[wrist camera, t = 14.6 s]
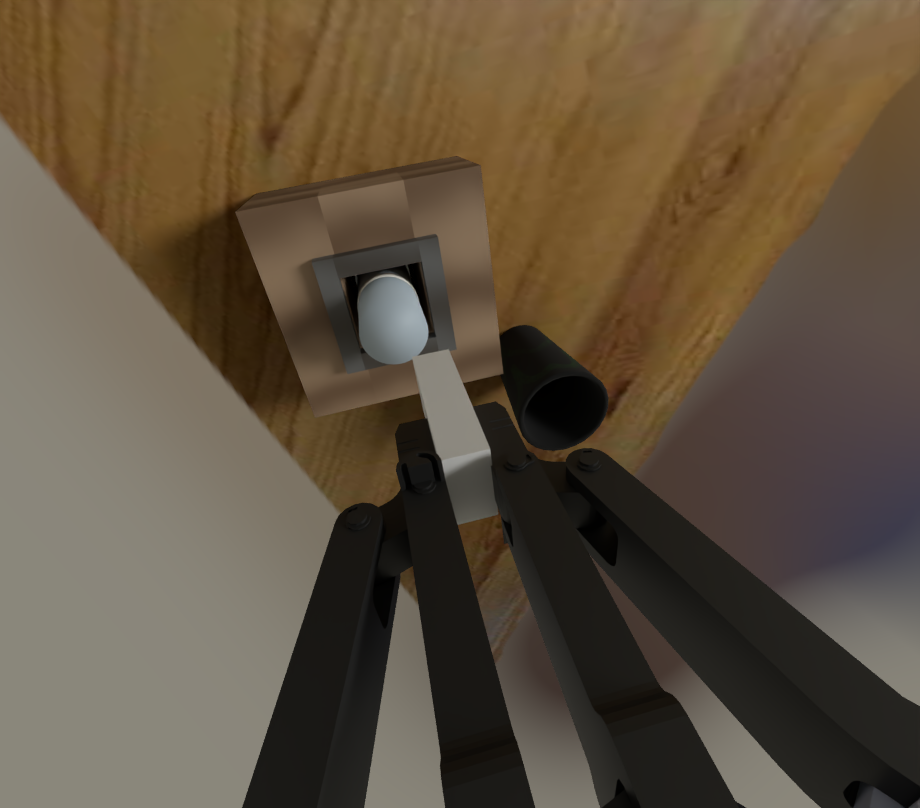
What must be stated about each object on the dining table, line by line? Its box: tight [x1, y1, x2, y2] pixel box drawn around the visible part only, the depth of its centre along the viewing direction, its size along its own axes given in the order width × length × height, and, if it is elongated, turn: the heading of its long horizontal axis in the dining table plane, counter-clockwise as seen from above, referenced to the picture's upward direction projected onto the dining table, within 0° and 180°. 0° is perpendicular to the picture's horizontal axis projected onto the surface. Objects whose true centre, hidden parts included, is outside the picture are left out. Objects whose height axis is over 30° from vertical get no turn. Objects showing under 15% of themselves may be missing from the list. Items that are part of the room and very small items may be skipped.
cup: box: [500, 325, 608, 451], centre depth 43 cm, size 8×8×12 cm
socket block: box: [235, 156, 503, 418], centre depth 37 cm, size 16×16×9 cm
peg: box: [357, 265, 428, 364], centre depth 35 cm, size 4×4×12 cm
